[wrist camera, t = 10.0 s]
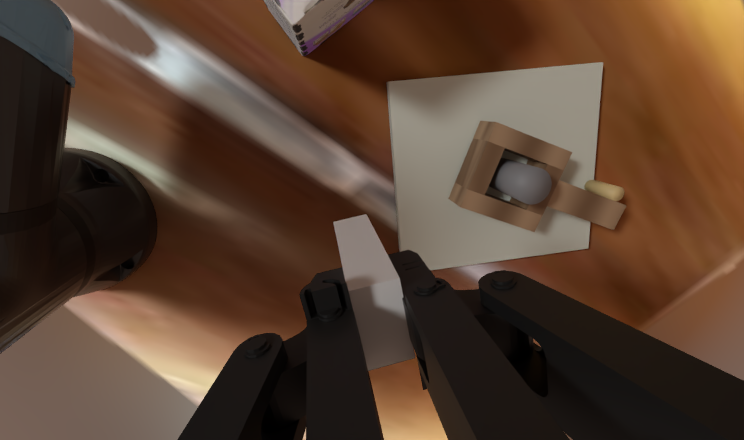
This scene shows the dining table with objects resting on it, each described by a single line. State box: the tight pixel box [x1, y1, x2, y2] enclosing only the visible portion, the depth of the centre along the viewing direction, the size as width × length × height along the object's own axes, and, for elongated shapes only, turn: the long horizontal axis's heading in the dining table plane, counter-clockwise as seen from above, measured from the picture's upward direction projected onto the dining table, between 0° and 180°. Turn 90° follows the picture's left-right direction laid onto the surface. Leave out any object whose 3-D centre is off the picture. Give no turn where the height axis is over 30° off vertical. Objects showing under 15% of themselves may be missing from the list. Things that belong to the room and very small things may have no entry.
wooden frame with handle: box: [448, 121, 626, 232], centre depth 43 cm, size 18×9×4 cm, turn 70°
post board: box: [387, 62, 624, 270], centre depth 41 cm, size 24×22×9 cm
